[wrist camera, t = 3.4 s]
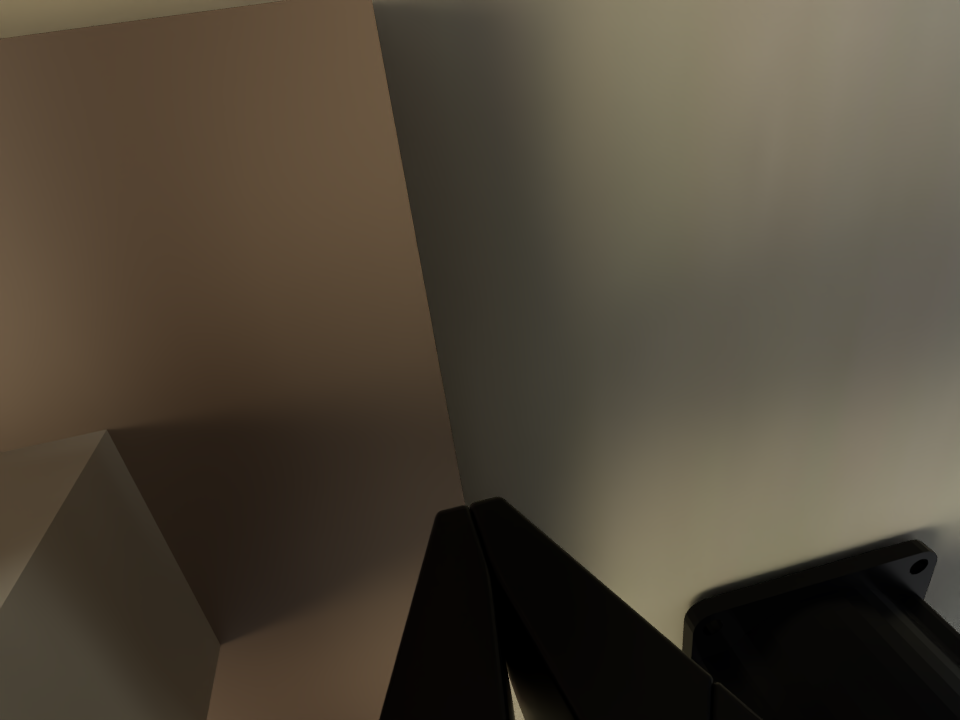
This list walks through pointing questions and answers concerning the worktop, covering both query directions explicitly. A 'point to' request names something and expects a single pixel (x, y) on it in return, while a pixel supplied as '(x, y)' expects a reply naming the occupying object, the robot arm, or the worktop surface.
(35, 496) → the maple block
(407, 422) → the lane deck
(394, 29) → the worktop surface
